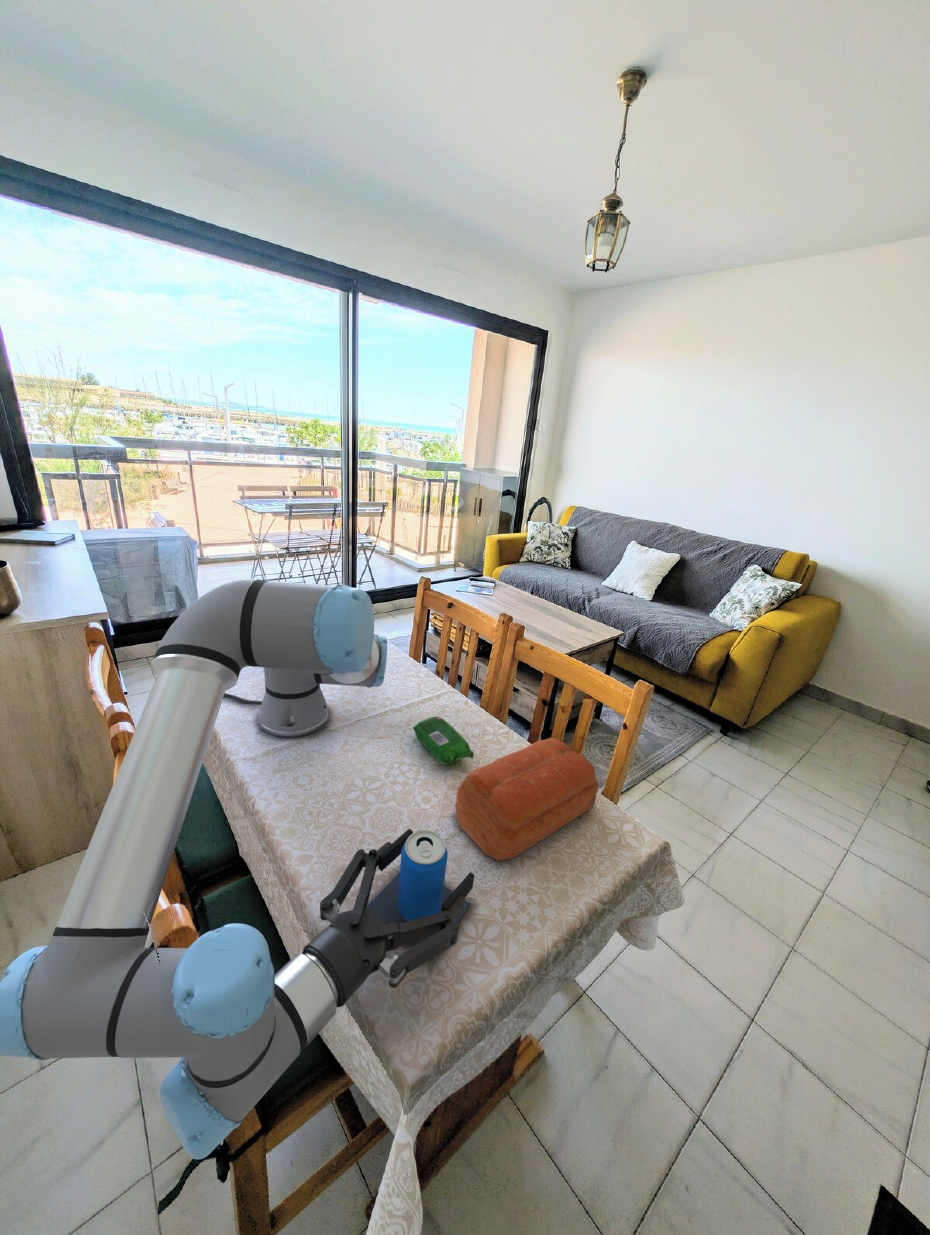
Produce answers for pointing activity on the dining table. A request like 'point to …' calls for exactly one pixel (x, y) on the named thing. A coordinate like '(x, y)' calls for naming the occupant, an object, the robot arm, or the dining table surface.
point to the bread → (525, 797)
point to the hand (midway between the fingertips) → (439, 857)
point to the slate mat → (388, 905)
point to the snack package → (442, 740)
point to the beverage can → (422, 875)
